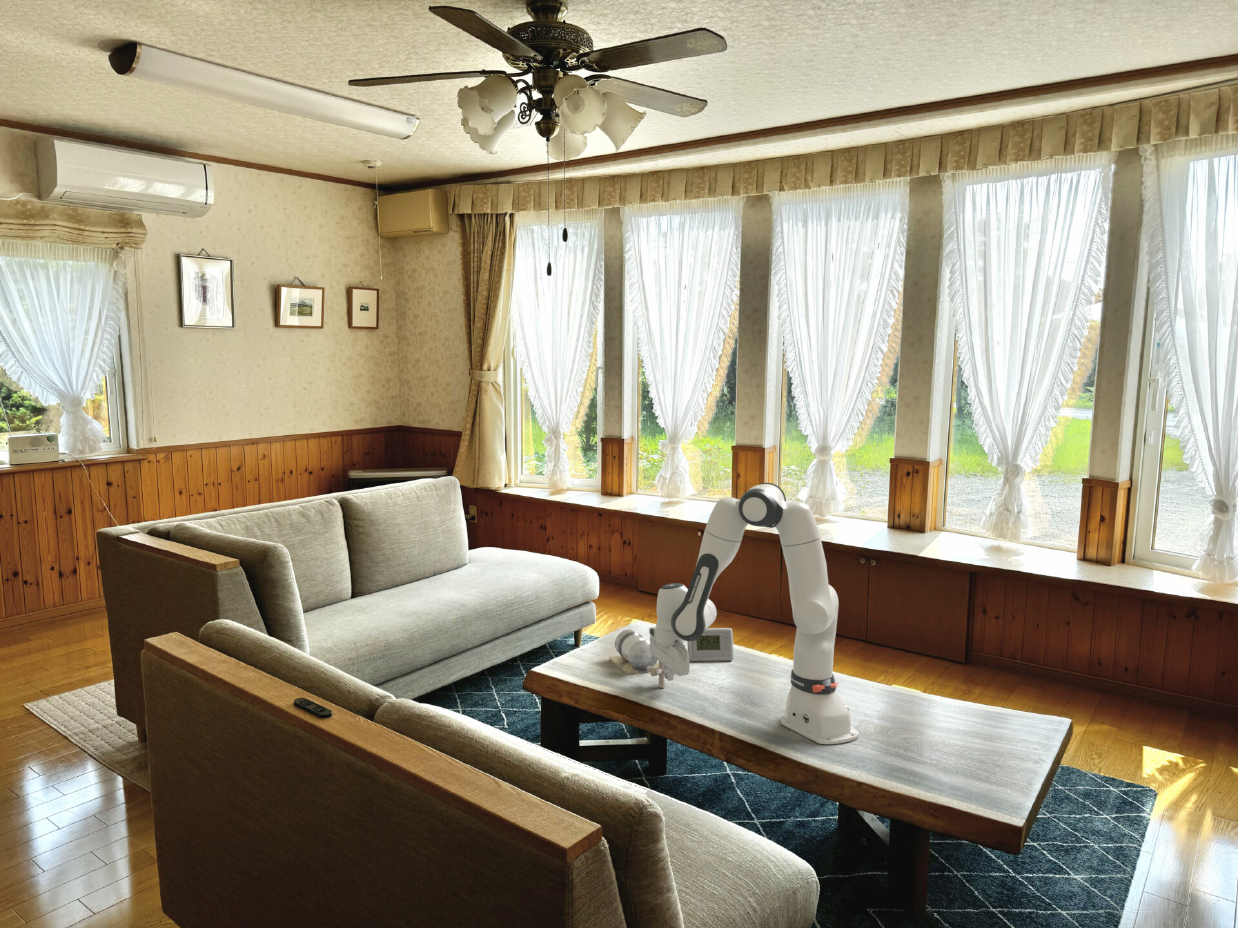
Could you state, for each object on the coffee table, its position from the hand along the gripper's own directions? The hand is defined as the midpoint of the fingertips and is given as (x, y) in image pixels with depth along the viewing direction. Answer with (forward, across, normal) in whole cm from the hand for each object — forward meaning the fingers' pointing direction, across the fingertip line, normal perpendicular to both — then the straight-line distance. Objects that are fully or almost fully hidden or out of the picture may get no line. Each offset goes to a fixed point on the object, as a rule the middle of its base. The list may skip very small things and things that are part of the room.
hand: (668, 679), depth 257 cm
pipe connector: (+5, +5, 0) cm, 7 cm away
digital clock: (+5, +22, -27) cm, 35 cm away
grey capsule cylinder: (+5, +26, 0) cm, 26 cm away
